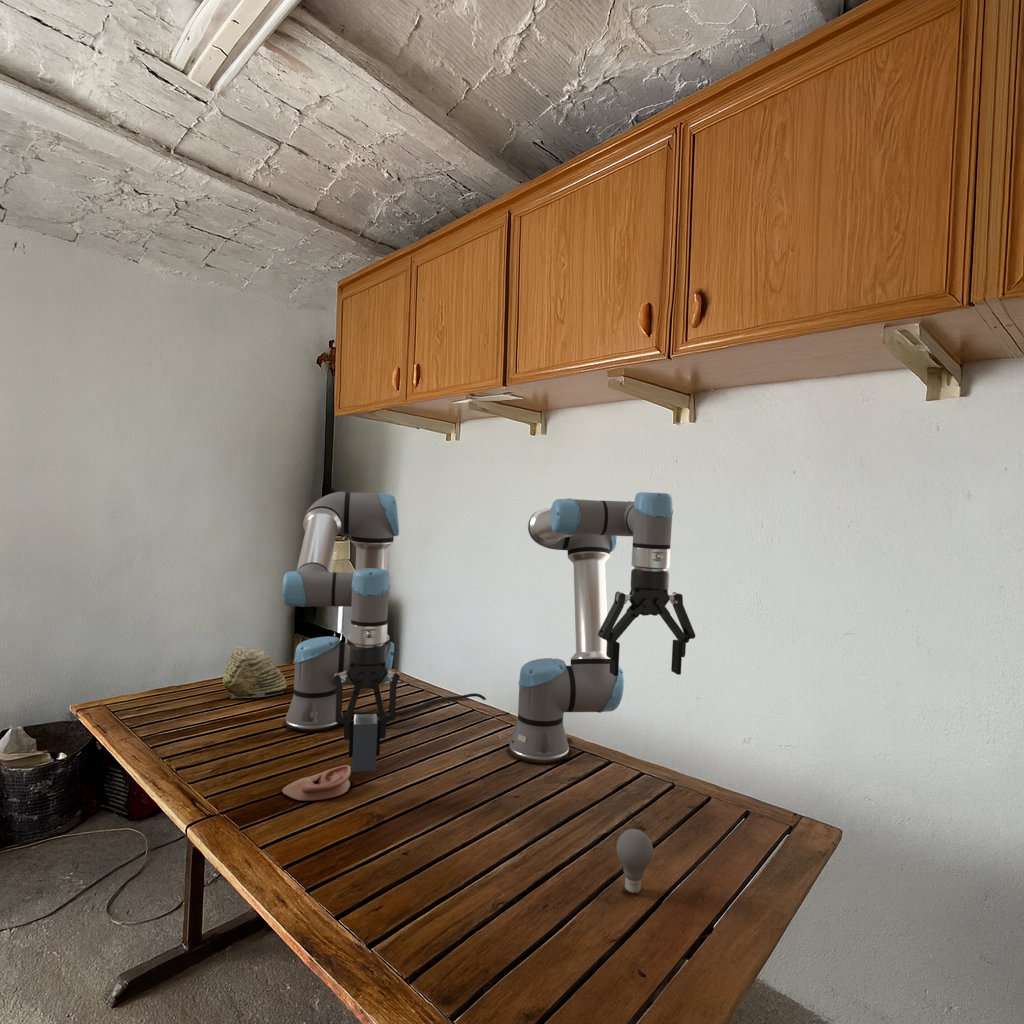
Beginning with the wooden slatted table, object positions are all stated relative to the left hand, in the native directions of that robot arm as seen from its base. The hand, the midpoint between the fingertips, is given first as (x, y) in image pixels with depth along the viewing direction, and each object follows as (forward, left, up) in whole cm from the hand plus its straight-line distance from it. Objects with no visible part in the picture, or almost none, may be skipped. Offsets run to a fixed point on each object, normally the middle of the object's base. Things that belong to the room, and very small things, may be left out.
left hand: (364, 753), depth 133 cm
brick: (0, 0, -2) cm, 2 cm away
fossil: (-20, -79, -10) cm, 82 cm away
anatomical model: (+4, -11, -10) cm, 15 cm away
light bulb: (-11, +57, -10) cm, 59 cm away
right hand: (-33, +47, +20) cm, 61 cm away
